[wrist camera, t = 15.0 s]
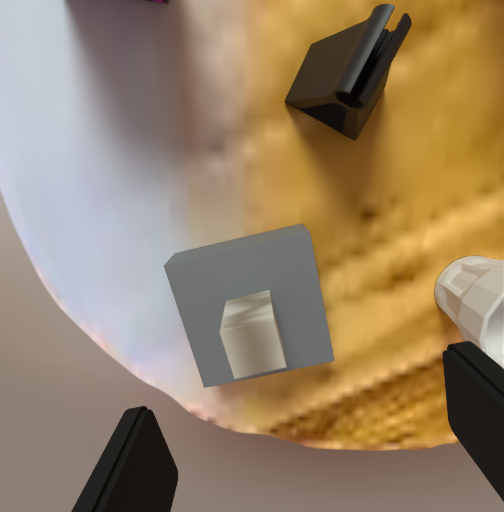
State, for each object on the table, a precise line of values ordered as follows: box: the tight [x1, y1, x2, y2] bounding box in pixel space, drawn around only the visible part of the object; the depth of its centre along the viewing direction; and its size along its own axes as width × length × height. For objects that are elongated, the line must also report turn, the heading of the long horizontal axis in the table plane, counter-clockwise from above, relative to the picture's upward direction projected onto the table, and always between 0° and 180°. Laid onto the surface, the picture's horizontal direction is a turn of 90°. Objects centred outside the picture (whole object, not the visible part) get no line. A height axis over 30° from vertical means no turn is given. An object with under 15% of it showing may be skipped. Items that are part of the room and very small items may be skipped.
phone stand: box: [285, 4, 412, 140], centre depth 27 cm, size 9×6×12 cm, turn 63°
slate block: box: [164, 224, 334, 388], centre depth 37 cm, size 16×16×5 cm
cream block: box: [220, 290, 286, 379], centre depth 31 cm, size 5×5×7 cm
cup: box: [435, 256, 504, 368], centre depth 34 cm, size 12×12×11 cm
